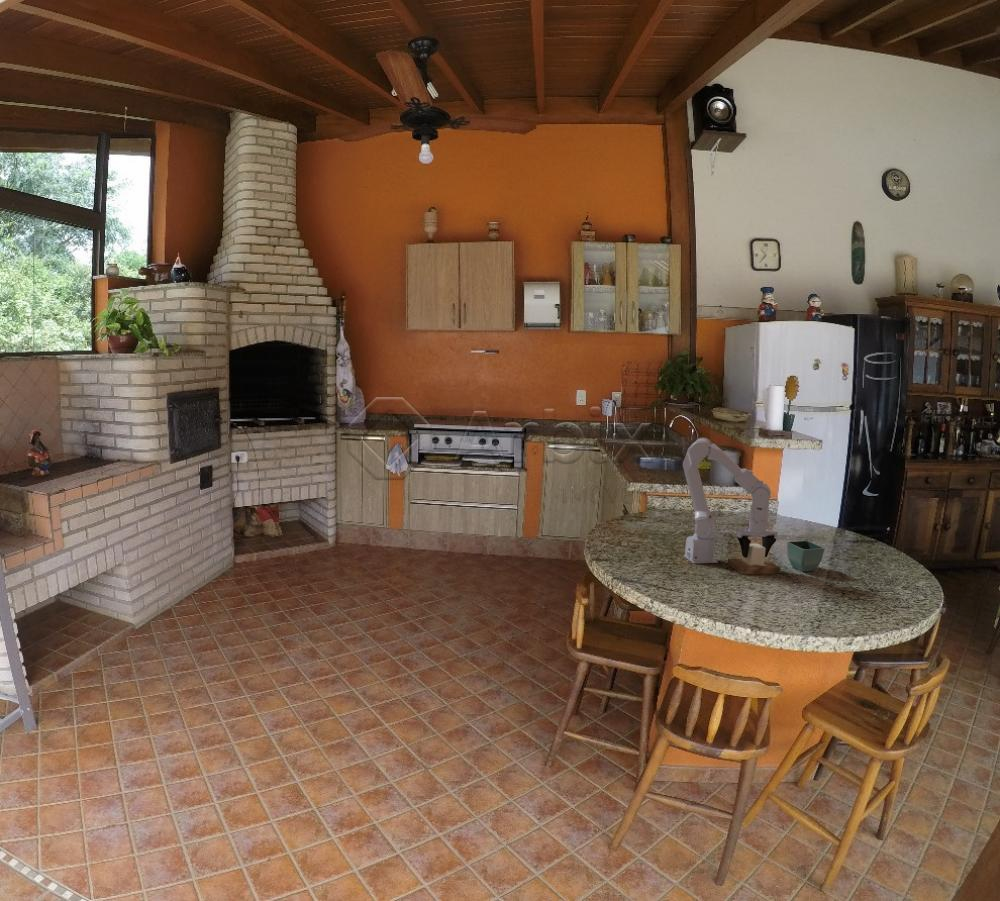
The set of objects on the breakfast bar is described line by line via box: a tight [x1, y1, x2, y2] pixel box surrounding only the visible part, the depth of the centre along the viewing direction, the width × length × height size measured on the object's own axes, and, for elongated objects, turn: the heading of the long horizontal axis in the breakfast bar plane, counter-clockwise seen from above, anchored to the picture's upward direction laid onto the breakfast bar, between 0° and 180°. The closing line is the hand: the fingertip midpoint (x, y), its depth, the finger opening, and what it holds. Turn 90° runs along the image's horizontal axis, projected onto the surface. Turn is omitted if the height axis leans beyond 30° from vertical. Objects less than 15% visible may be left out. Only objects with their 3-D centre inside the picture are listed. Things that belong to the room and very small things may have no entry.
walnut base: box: [726, 557, 781, 575], centre depth 221 cm, size 14×10×2 cm
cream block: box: [742, 542, 766, 565], centre depth 220 cm, size 5×5×6 cm
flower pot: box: [786, 540, 826, 573], centre depth 222 cm, size 9×9×9 cm
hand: (754, 556), depth 220 cm, fingers open, 7 cm apart
